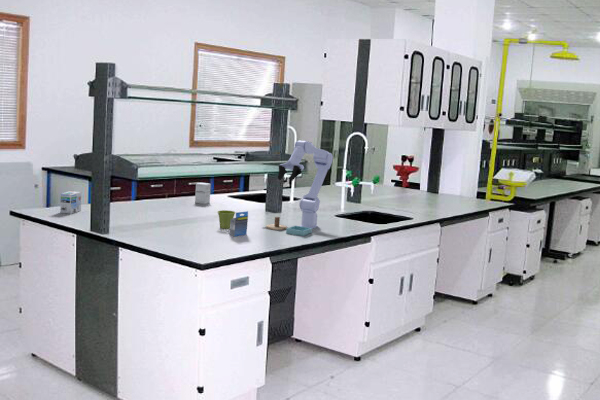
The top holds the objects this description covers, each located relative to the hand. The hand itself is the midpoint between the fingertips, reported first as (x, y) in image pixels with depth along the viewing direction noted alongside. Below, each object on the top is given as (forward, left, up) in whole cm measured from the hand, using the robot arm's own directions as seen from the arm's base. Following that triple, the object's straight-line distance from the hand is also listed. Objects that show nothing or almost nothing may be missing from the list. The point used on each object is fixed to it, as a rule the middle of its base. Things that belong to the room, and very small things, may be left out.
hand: (284, 179), depth 333 cm
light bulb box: (+31, -115, -29) cm, 123 cm away
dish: (-9, +6, -29) cm, 31 cm away
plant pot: (+6, -30, -29) cm, 42 cm away
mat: (-12, -9, -29) cm, 33 cm away
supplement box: (-49, -83, -29) cm, 101 cm away
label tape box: (+16, -16, -29) cm, 37 cm away
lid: (-12, -9, -29) cm, 32 cm away
